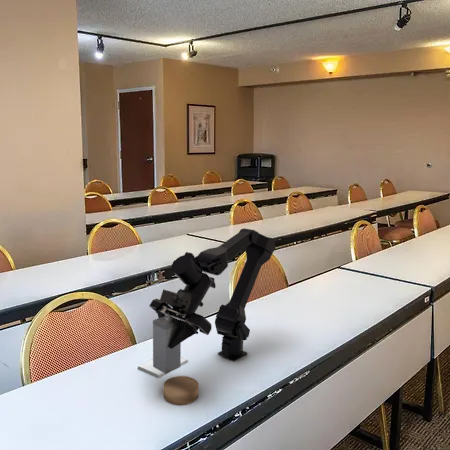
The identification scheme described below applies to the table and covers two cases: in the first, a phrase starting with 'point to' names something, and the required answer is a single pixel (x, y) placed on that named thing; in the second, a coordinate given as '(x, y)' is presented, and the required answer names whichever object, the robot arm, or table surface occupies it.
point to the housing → (165, 344)
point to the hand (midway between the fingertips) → (162, 344)
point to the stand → (180, 390)
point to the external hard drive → (149, 368)
